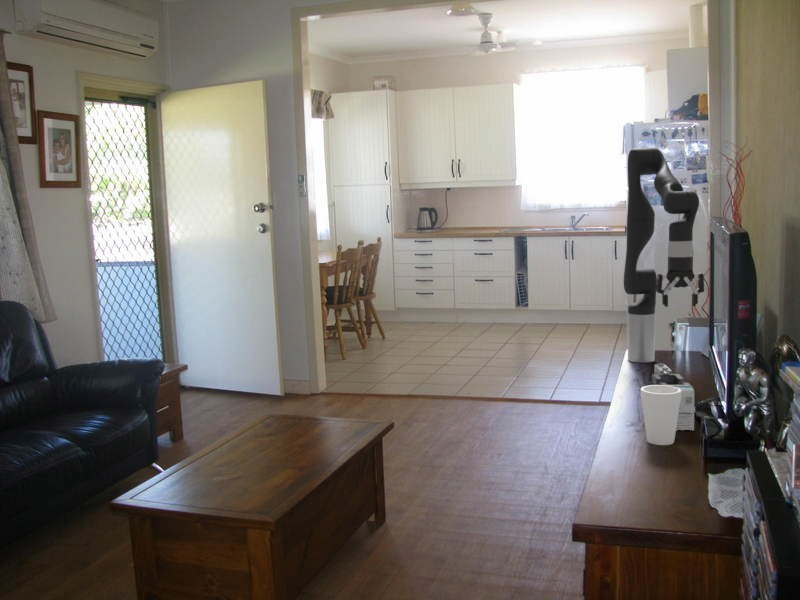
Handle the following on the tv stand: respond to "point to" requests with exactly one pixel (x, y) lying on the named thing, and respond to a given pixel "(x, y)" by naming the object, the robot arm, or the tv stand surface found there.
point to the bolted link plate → (661, 369)
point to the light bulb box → (685, 408)
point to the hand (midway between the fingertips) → (679, 306)
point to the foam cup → (660, 412)
